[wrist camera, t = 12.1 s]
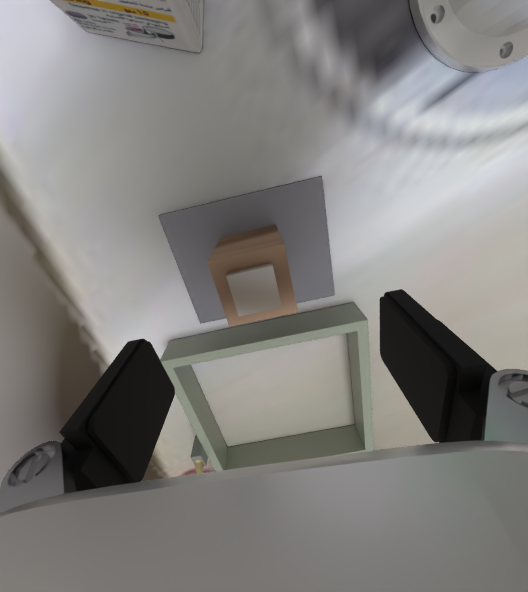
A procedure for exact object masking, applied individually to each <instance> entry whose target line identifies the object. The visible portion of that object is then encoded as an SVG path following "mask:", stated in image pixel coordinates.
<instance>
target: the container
mask: <svg viewBox="0 0 528 592" xmlns="http://www.w3.org/2000/svg"><path fill="white" fill-rule="evenodd" d="M50 1H51V2H52V3H54V4H55V5H56V6H57V7H58V8H59V9H61V10H62V11H63V12H64V13H65V14H66V15H68V16H69V17H70V18H71V19H72V20H73V21H74V22H76V23H77V24H78V25H79V26H80V27H81V28H83V29H84V30H85V31H87V32H91V33H97V34H102V35H107V36H112V37H118V38H123V39H128V40H134V41H139V42H144V43H149V44H155V45H160V46H165V47H171V48H176V49H181V50H187V51H192V52H200V51H201V50H202V43H203V0H50Z"/></svg>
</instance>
